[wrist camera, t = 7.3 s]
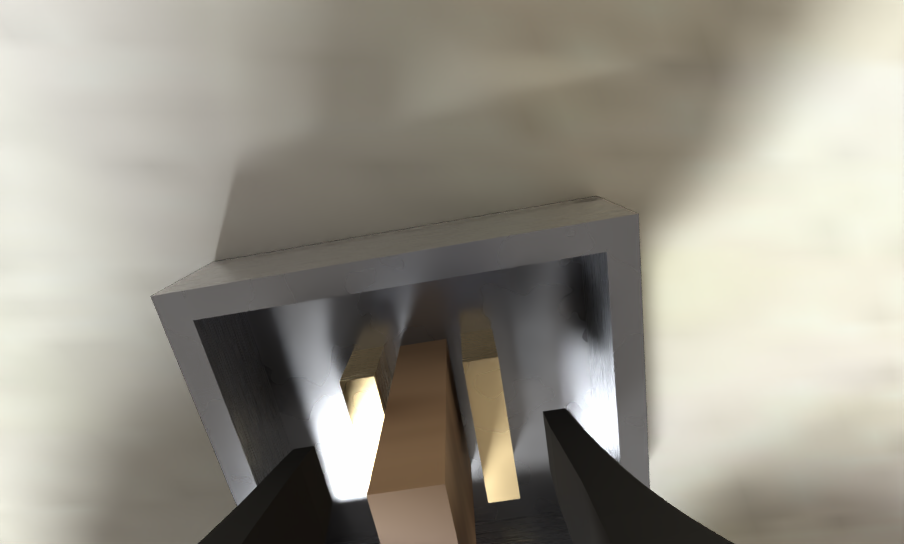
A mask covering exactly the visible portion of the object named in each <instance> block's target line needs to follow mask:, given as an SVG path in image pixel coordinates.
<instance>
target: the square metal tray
mask: <svg viewBox="0 0 904 544" xmlns="http://www.w3.org/2000/svg"><path fill="white" fill-rule="evenodd" d="M151 298H152V301H153V303H154V306H155V308H156V311H157V313H158V315H159V318H160V320H161V323H162V325H163V328H164V330H165V332H166V335H167V337H168V340H169V342H170V345H171V347H172V349H173V352H174V354H175V357H176V359H177V362H178V364H179V367H180V369H181V371H182V374H183V376H184V379H185V381H186V384H187V386H188V388H189V391H190V393H191V396H192V398H193V401H194V403H195V405H196V408H197V410H198V413H199V415H200V418H201V420H202V423H203V425H204V427H205V430H206V432H207V435H208V437H209V440H210V442H211V444H212V447H213V449H214V452H215V454H216V457H217V459H218V461H219V464H220V466H221V469H222V471H223V474H224V476H225V479H226V481H227V483H228V486H229V488H230V491H231V493H232V496H233V498H234V500H235V503H236V505H237V506H238V505H239V504H240V503H241V502H242V501H243V500H244V499H245V498H246V497H247V496H248V495H249V494H250V493H251V492H252V491H253V490H254V489H255V488H256V487H257V486H258V485H259V484H260V483H261V482H262V480H263V479H264V478H265V477H266V476H267V475H268V474H269V473H270V472H271V471H272V470H273V469H274V468H275V467H276V466H277V465H278V464H279V463H280V462H281V461H282V460H283V459H284V458H285V457H286V456H287V455H288V454H289V453H290V452H291V451H292V450H293V449H296V448H303V447H310V446H314V447H315V450H316V453H317V456H318V459H319V462H320V465H321V468H322V471H323V474H324V478H325V481H326V484H327V487H328V490H329V493H330V496H331V499H332V507H331V513H330V519H329V524H328V529H327V534H326V539H325V543H324V544H380V540H379V537H378V533H377V530H376V527H375V523H374V520H373V516H372V513H371V510H370V506H369V503H368V499H367V496H366V495H367V490H368V486H369V481H370V477H371V473H372V468H373V464H374V459H375V455H376V450H377V446H378V442H379V437H380V433H381V428H382V424H383V419H384V415H385V411H386V406H387V402H388V397H389V393H390V388H391V384H392V380H393V375H394V371H395V366H396V362H397V357H398V353H399V349H400V346H404V345H410V344H417V343H423V342H429V341H435V340H442V339H447V345H448V350H449V355H450V360H451V365H452V370H453V375H454V381H455V386H456V391H457V396H458V401H459V406H460V411H461V417H462V422H463V427H464V432H465V437H466V442H467V447H468V453H469V458H470V463H471V473H472V488H473V502H474V517H475V532H476V544H573V541H572V538H571V536H570V533H569V530H568V528H567V525H566V522H565V520H564V517H563V514H562V512H561V509H560V506H559V502H558V499H557V495H556V491H555V487H554V483H553V480H552V476H551V472H550V465H549V457H548V449H547V442H546V434H545V426H544V418H543V411H549V410H556V409H562V408H565V409H566V410H568V411H569V412H570V413H571V415H572V416H573V417H574V418H575V419H576V421H577V422H578V423H579V424H580V425H581V426H582V427H583V428H584V429H585V430H586V431H587V433H588V434H589V435H590V436H591V437H592V438H593V439H594V440H595V441H596V442H597V443H598V444H599V445H600V446H601V447H602V448H603V449H604V450H605V451H606V452H608V453H609V454H610V455H611V456H612V457H613V458H614V459H615V460H616V461H617V462H618V463H619V464H620V465H622V466H623V467H624V468H625V469H626V470H627V471H628V472H630V473H631V474H632V475H633V476H634V477H636V478H637V479H638V480H639V481H640V482H642V483H643V484H644V485H645V486H647V487H648V488H649V489H650V481H649V456H648V432H647V407H646V383H645V359H644V334H643V310H642V286H641V261H640V237H639V214H638V213H636V212H633V211H631V210H629V209H626V208H624V207H622V206H619V205H617V204H615V203H612V202H610V201H608V200H605V199H603V198H601V197H598V196H594V197H588V198H582V199H576V200H571V201H565V202H559V203H553V204H547V205H541V206H536V207H530V208H524V209H518V210H512V211H506V212H501V213H495V214H489V215H483V216H477V217H471V218H466V219H460V220H454V221H448V222H442V223H436V224H431V225H425V226H419V227H413V228H407V229H401V230H396V231H390V232H384V233H378V234H372V235H366V236H361V237H355V238H349V239H343V240H337V241H331V242H326V243H320V244H314V245H308V246H302V247H296V248H291V249H285V250H279V251H273V252H267V253H262V254H256V255H250V256H244V257H238V258H232V259H227V260H221V261H215V262H212V263H210V264H208V265H206V266H205V267H203V268H201V269H199V270H197V271H195V272H194V273H192V274H190V275H188V276H186V277H185V278H183V279H181V280H179V281H177V282H175V283H174V284H172V285H170V286H168V287H166V288H165V289H163V290H161V291H159V292H157V293H155V294H154V295H152V296H151Z"/></svg>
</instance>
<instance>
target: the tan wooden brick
mask: <svg viewBox="0 0 904 544" xmlns="http://www.w3.org/2000/svg"><path fill="white" fill-rule="evenodd" d="M366 496H367V499H368V503H369V506H370V510H371V513H372V516H373V520H374V523H375V527H376V530H377V533H378V537H379V540H380V544H476V532H475V517H474V502H473V488H472V473H471V463H470V458H469V453H468V447H467V442H466V437H465V432H464V427H463V422H462V417H461V411H460V406H459V401H458V396H457V391H456V386H455V381H454V375H453V370H452V365H451V360H450V355H449V350H448V345H447V339H442V340H435V341H429V342H423V343H417V344H410V345H404V346H400V349H399V353H398V357H397V362H396V366H395V371H394V375H393V380H392V384H391V388H390V393H389V397H388V402H387V406H386V411H385V415H384V419H383V424H382V428H381V433H380V437H379V442H378V446H377V450H376V455H375V459H374V464H373V468H372V473H371V477H370V481H369V486H368V490H367V495H366Z"/></svg>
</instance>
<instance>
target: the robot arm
mask: <svg viewBox="0 0 904 544" xmlns="http://www.w3.org/2000/svg"><path fill="white" fill-rule="evenodd" d="M543 418H544V426H545V434H546V442H547V449H548V457H549V465H550V472H551V476H552V480H553V483H554V487H555V491H556V495H557V499H558V502H559V506H560V509H561V512H562V514H563V517H564V520H565V522H566V525H567V528H568V530H569V533H570V536H571V538H572V541H573V544H734V543H732V542H730V541H728V540H727V539H725V538H723V537H721V536H720V535H718V534H716V533H715V532H713V531H711V530H710V529H708V528H707V527H705V526H703V525H702V524H700V523H698V522H697V521H695V520H693V519H692V518H690V517H689V516H687V515H685V514H684V513H683V512H681V511H680V510H678V509H677V508H675V507H674V506H672V505H671V504H669V503H668V502H667V501H665V500H664V499H663V498H661V497H660V496H658V495H657V494H656V493H654V492H653V491H652V490H650V489H649V488H648V487H647V486H645V485H644V484H643V483H642V482H640V481H639V480H638V479H637V478H636V477H634V476H633V475H632V474H631V473H630V472H628V471H627V470H626V469H625V468H624V467H623V466H622V465H620V464H619V463H618V462H617V461H616V460H615V459H614V458H613V457H612V456H611V455H610V454H609V453H608V452H606V451H605V450H604V449H603V448H602V447H601V446H600V445H599V444H598V443H597V442H596V441H595V440H594V439H593V438H592V437H591V436H590V435H589V434H588V433H587V431H586V430H585V429H584V428H583V427H582V426H581V425H580V424H579V423H578V422H577V421H576V419H575V418H574V417H573V416H572V415H571V413H570V412H569V411H568V410H566V409H565V408H562V409H556V410H549V411H543ZM331 507H332V499H331V496H330V493H329V490H328V487H327V484H326V481H325V478H324V474H323V471H322V468H321V465H320V462H319V459H318V456H317V453H316V450H315V447H314V446H310V447H303V448H296V449H293V450H292V451H291V452H290V453H289V454H288V455H287V456H286V457H285V458H284V459H283V460H282V461H281V462H280V463H279V464H278V465H277V466H276V467H275V468H274V469H273V470H272V471H271V472H270V473H269V474H268V475H267V476H266V477H265V478H264V479H263V480H262V482H261V483H260V484H259V485H258V486H257V487H256V488H255V489H254V490H253V491H252V492H251V493H250V494H249V495H248V496H247V497H246V498H245V499H244V500H243V501H242V502H241V503H240V504H239V505H238V506H237V507H236V508H235V509H234V510H233V511H232V512H231V513H230V514H229V515H228V516H227V517H226V518H225V519H224V520H222V521H221V522H220V523H219V524H218V525H217V526H216V527H215V528H214V529H213V530H212V531H211V532H210V533H209V534H208V535H207V536H206V537H205V538H204V539H202V540H201V541H200V542H199V543H198V544H324V543H325V539H326V534H327V529H328V524H329V519H330V513H331Z"/></svg>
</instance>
